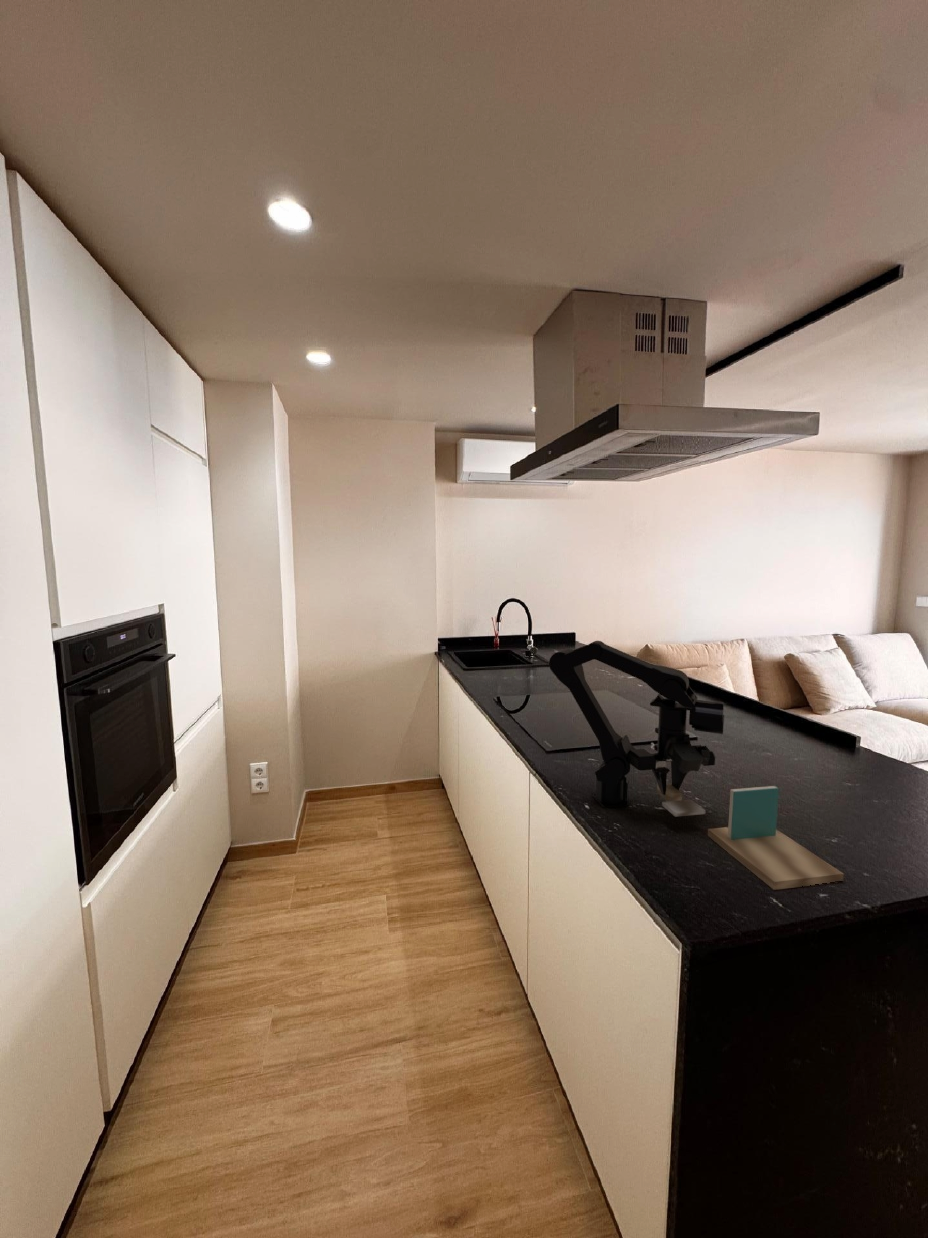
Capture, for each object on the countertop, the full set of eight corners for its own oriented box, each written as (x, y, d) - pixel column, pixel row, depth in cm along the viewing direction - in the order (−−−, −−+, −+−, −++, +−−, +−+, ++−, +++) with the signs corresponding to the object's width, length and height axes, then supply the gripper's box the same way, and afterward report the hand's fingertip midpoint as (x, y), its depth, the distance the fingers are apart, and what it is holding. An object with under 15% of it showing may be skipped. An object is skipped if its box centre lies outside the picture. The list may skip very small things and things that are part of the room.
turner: (675, 816, 106) (675, 805, 106) (647, 793, 117) (648, 783, 117) (705, 814, 107) (705, 802, 107) (675, 791, 118) (675, 781, 118)
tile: (731, 839, 101) (734, 792, 100) (727, 836, 102) (730, 789, 101) (775, 835, 103) (778, 788, 102) (771, 832, 104) (774, 786, 103)
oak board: (773, 890, 88) (774, 882, 88) (707, 835, 106) (708, 829, 106) (842, 881, 90) (843, 873, 90) (766, 830, 108) (767, 823, 108)
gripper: (652, 741, 103) (649, 814, 105) (734, 736, 106) (730, 807, 108) (626, 724, 114) (624, 790, 116) (701, 720, 117) (697, 785, 119)
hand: (669, 793), depth 114 cm, fingers closed on turner, 2 cm apart
